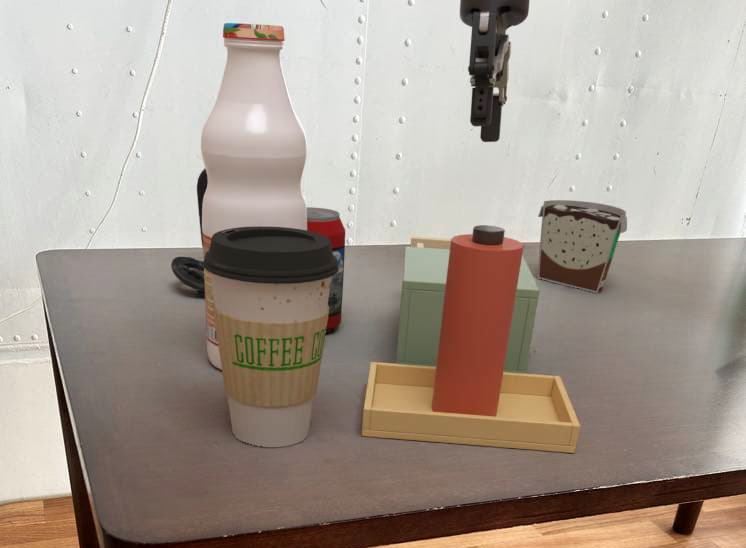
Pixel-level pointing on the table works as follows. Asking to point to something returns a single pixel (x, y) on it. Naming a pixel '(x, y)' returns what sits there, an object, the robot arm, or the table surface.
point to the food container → (578, 242)
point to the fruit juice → (251, 148)
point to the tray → (508, 429)
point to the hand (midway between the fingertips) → (485, 133)
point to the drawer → (430, 242)
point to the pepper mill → (476, 321)
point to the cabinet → (426, 308)
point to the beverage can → (333, 229)
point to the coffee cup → (270, 326)
